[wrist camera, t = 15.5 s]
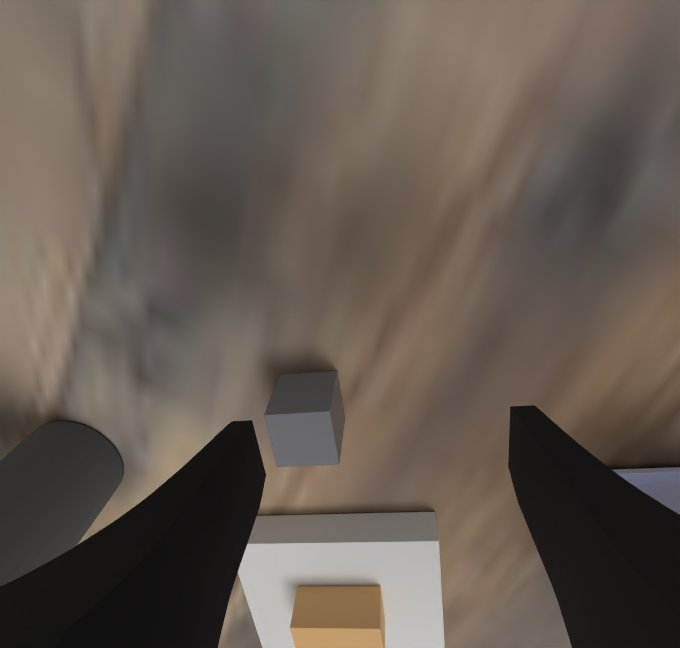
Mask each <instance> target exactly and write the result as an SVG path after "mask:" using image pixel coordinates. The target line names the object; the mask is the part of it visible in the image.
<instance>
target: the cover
mask: <svg viewBox="0 0 680 648" xmlns="http://www.w3.org/2000/svg"><path fill="white" fill-rule="evenodd" d="M264 418H265V422H266V425H267V429H268V433H269V437H270V441H271V445H272V449H273V453H274V457H275V461H276V465H277V467H287V466H310V465H333V464H339V462H340V454H341V446H342V438H343V430H344V423H345V415H344V409H343V403H342V397H341V391H340V384H339V378H338V372H337V371H324V372H310V373H297V374H283V375H280V377H279V379H278V382H277V384H276V387H275V389H274V392H273V394H272V396H271V399H270V401H269V404H268V406H267V409H266V411H265V414H264Z"/></svg>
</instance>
